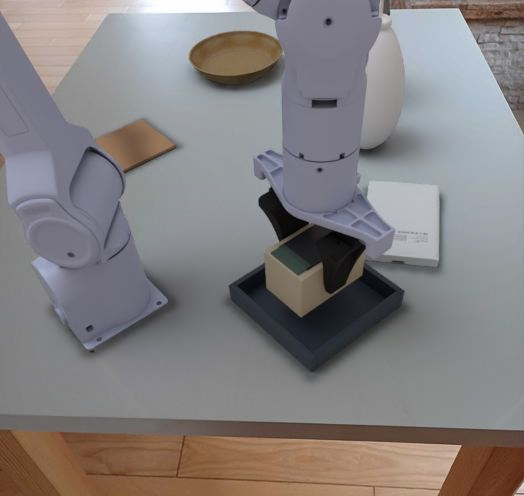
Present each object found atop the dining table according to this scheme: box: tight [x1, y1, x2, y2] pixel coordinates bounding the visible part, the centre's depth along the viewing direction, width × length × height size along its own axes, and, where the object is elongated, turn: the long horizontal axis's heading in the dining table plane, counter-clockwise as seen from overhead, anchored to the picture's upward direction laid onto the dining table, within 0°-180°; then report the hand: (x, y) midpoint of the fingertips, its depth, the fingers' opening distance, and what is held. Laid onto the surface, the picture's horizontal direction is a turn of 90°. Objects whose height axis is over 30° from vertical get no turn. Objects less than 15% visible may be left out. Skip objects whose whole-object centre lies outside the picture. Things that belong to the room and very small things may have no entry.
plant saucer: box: [188, 30, 284, 85], centre depth 82 cm, size 15×15×3 cm
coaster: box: [95, 118, 177, 173], centre depth 72 cm, size 9×9×1 cm
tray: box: [228, 261, 406, 373], centre depth 52 cm, size 12×12×2 cm
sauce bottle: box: [360, 0, 406, 150], centre depth 62 cm, size 8×8×18 cm
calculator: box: [263, 222, 366, 317], centre depth 48 cm, size 8×5×5 cm, turn 130°
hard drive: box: [364, 180, 440, 268], centre depth 59 cm, size 2×8×12 cm
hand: (315, 271), depth 49 cm, fingers closed on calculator, 5 cm apart
